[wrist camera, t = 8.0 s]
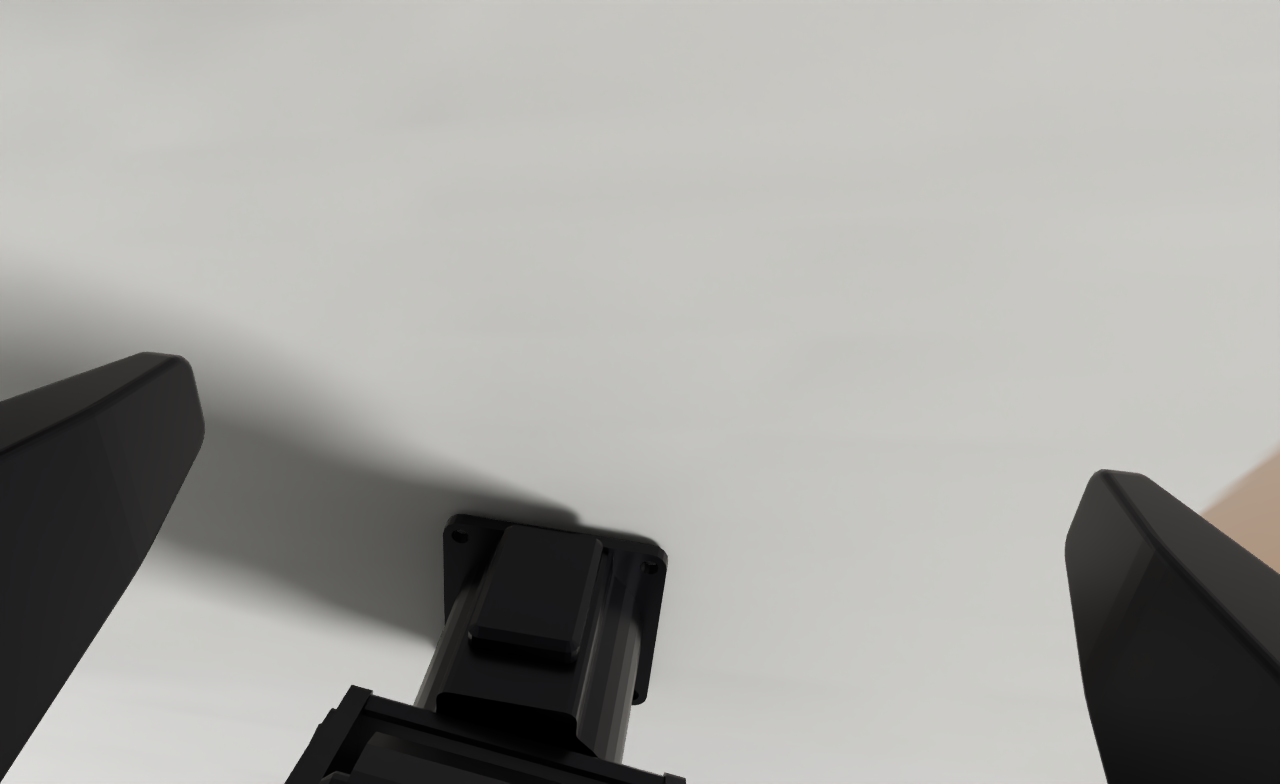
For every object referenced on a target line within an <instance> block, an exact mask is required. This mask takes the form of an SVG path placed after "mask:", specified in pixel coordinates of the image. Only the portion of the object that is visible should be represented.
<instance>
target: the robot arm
mask: <svg viewBox="0 0 1280 784" xmlns="http://www.w3.org/2000/svg"><path fill="white" fill-rule="evenodd" d="M204 433H205V423H204V417H203V413H202V409H201V404H200V400H199V396H198V391H197V387H196V383H195V378H194V374H193V370H192V367H191V365H190V364H189V362H188V361H187V360H186V359H185V358H183V357H182V356H179V355H171V354H163V353H155V352H142V353H138V354H135V355H132V356H129V357H127V358H124V359H121V360H118V361H115V362H112V363H109V364H107V365H104V366H101V367H98V368H95V369H92V370H89V371H87V372H84V373H81V374H78V375H75V376H72V377H69V378H67V379H64V380H61V381H58V382H55V383H52V384H50V385H47V386H44V387H41V388H38V389H35V390H32V391H30V392H27V393H24V394H21V395H18V396H15V397H12V398H10V399H7V400H4V401H1V402H0V782H1V781H2V779H3V778H4V776H5V775H6V773H7V772H8V770H9V769H10V767H11V766H12V764H13V762H14V761H15V759H16V758H17V756H18V755H19V753H20V752H21V750H22V749H23V747H24V745H25V744H26V742H27V741H28V739H29V738H30V736H31V735H32V733H33V732H34V730H35V729H36V727H37V725H38V724H39V722H40V721H41V719H42V718H43V716H44V715H45V713H46V712H47V710H48V709H49V707H50V705H51V704H52V702H53V701H54V699H55V698H56V696H57V695H58V693H59V692H60V690H61V689H62V687H63V685H64V684H65V682H66V681H67V679H68V678H69V676H70V675H71V673H72V672H73V670H74V669H75V667H76V665H77V664H78V662H79V661H80V659H81V658H82V656H83V655H84V653H85V652H86V650H87V649H88V647H89V645H90V644H91V642H92V641H93V639H94V638H95V636H96V635H97V633H98V632H99V630H100V629H101V627H102V625H103V624H104V622H105V621H106V619H107V618H108V616H109V615H110V613H111V612H112V610H113V609H114V607H115V605H116V604H117V602H118V601H119V599H120V598H121V596H122V595H123V593H124V592H125V590H126V589H127V587H128V585H129V584H130V582H131V581H132V579H133V577H134V576H135V574H136V572H137V571H138V569H139V567H140V566H141V564H142V562H143V560H144V559H145V557H146V555H147V553H148V551H149V549H150V548H151V546H152V544H153V542H154V540H155V538H156V536H157V534H158V532H159V530H160V528H161V526H162V524H163V522H164V520H165V518H166V516H167V514H168V512H169V510H170V508H171V506H172V504H173V502H174V500H175V498H176V496H177V494H178V492H179V490H180V488H181V486H182V484H183V482H184V480H185V478H186V476H187V474H188V472H189V470H190V468H191V466H192V464H193V462H194V460H195V458H196V456H197V454H198V452H199V450H200V448H201V445H202V443H203V439H204ZM458 530H462V531H465V532H466V533H467V534H462V533H460V532H459V531H458ZM443 551H444V608H445V627H444V630H443V632H442V635H441V637H440V640H439V642H438V645H437V647H436V650H435V652H434V655H433V657H432V660H431V662H430V665H429V667H428V670H427V672H426V675H425V677H424V680H423V682H422V685H421V687H420V690H419V692H418V695H417V697H416V700H415V702H414V705H413V706H412V705H408V704H405V703H401V702H398V701H394V700H390V699H387V698H383V697H380V696H376V695H373V691H372V690H369V689H365V688H362V687H358V686H355V685H351V687H350V688H349V690H348V691H347V693H346V695H345V696H344V698H343V700H342V701H341V703H340V704H339V706H338V708H337V709H334V708H332V709H331V710H330V711H329V713H328V714H327V716H326V718H325V719H324V721H323V723H321V724H319V725H318V727H317V729H316V731H315V733H314V735H313V737H312V739H311V741H310V743H309V745H308V747H307V748H306V750H305V751H304V753H303V755H302V756H301V758H300V759H299V761H298V763H297V764H296V766H295V767H294V769H293V771H292V772H291V774H290V776H289V777H288V779H287V780H286V782H285V784H686V779H685V778H683V777H679V776H676V775H672V774H669V773H664V775H663V776H662V775H658V774H655V773H651V772H648V771H644V770H640V769H637V768H633V767H630V766H626V765H623V764H622V758H623V752H624V746H625V740H626V734H627V728H628V722H629V716H630V710H631V705H639V704H642V703H643V702H644V701H645V700H646V698H647V692H648V686H649V679H650V673H651V667H652V660H653V654H654V648H655V641H656V635H657V629H658V622H659V616H660V610H661V603H662V597H663V591H664V584H665V578H666V572H667V565H668V556H667V554H666V553H665V551H664V550H662V549H661V548H660V547H657V546H654V545H649V544H642V543H636V542H630V541H624V540H618V539H612V538H606V537H600V536H593V535H587V534H581V533H575V532H569V531H563V530H557V529H551V528H544V527H538V526H532V525H526V524H520V523H514V522H508V521H502V520H495V519H489V518H483V517H477V516H471V515H465V514H457V515H454V516H452V517H451V518H450V519H449V520H448V522H447V524H446V527H445V529H444V533H443ZM645 561H652V562H654V563H656V564H655V565H649V564H647V563H645ZM1065 562H1066V570H1067V577H1068V584H1069V591H1070V598H1071V605H1072V612H1073V620H1074V627H1075V634H1076V641H1077V648H1078V655H1079V662H1080V670H1081V676H1082V682H1083V688H1084V694H1085V699H1086V703H1087V707H1088V711H1089V716H1090V720H1091V724H1092V727H1093V731H1094V735H1095V739H1096V742H1097V746H1098V750H1099V753H1100V757H1101V761H1102V765H1103V768H1104V772H1105V776H1106V779H1107V783H1108V784H1280V574H1278V573H1277V572H1276V571H1274V570H1273V569H1272V568H1270V567H1269V566H1268V565H1266V564H1265V563H1263V562H1262V561H1261V560H1260V559H1258V558H1257V557H1255V556H1254V555H1253V554H1251V553H1250V552H1249V551H1247V550H1246V549H1245V548H1243V547H1242V546H1240V545H1239V544H1238V543H1236V542H1235V541H1234V540H1232V539H1231V538H1229V537H1228V536H1227V535H1225V534H1224V533H1223V532H1221V531H1220V530H1219V529H1217V528H1216V527H1215V526H1213V525H1212V524H1210V523H1209V522H1208V521H1206V520H1205V519H1204V518H1202V517H1201V516H1200V515H1198V514H1197V513H1196V512H1194V511H1193V510H1192V509H1190V508H1189V507H1187V506H1186V505H1185V504H1183V503H1182V502H1181V501H1179V500H1178V499H1177V498H1175V497H1174V496H1172V495H1171V494H1170V493H1168V492H1167V491H1166V490H1164V489H1163V488H1162V487H1160V486H1159V485H1158V484H1156V483H1155V482H1153V481H1152V480H1151V479H1149V478H1148V477H1146V476H1145V475H1142V474H1139V473H1133V472H1125V471H1116V470H1108V469H1101V470H1099V471H1097V472H1095V473H1094V474H1093V476H1092V477H1091V478H1090V480H1089V482H1088V484H1087V486H1086V489H1085V491H1084V494H1083V496H1082V499H1081V501H1080V504H1079V506H1078V509H1077V511H1076V514H1075V516H1074V519H1073V521H1072V523H1071V526H1070V528H1069V531H1068V534H1067V538H1066V542H1065Z"/></svg>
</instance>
